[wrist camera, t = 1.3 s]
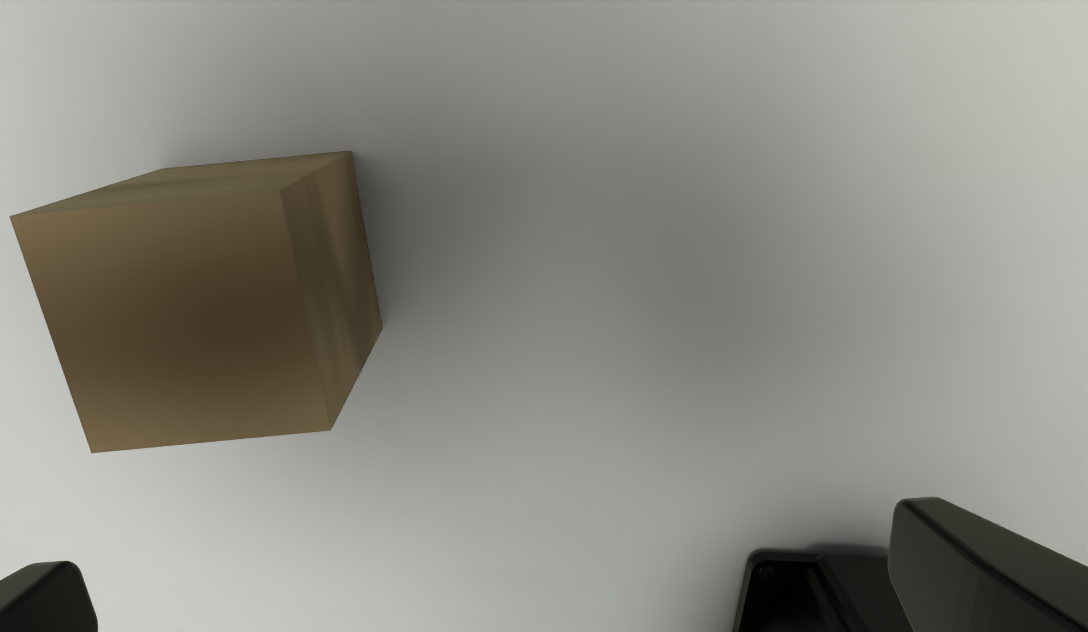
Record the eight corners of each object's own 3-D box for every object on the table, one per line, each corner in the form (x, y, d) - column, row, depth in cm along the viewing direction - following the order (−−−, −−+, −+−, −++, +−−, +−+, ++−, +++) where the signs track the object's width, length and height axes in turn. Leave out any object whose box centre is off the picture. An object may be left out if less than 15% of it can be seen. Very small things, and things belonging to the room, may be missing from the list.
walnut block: (382, 328, 21) (331, 430, 15) (208, 344, 21) (91, 453, 15) (350, 150, 19) (279, 190, 13) (161, 168, 19) (9, 216, 13)
